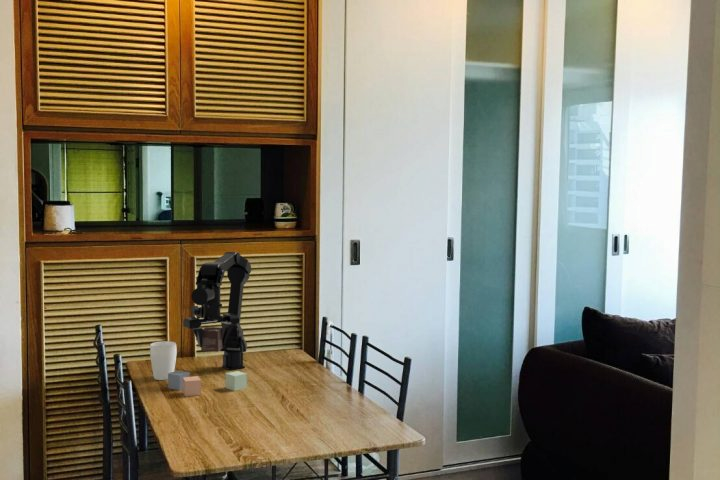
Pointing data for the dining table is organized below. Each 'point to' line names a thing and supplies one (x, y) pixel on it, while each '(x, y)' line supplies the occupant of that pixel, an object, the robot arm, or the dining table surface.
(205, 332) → the box
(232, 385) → the cube sage
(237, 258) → the robot arm
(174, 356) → the cup
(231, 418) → the dining table surface
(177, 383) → the cube slate
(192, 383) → the cube terracotta
